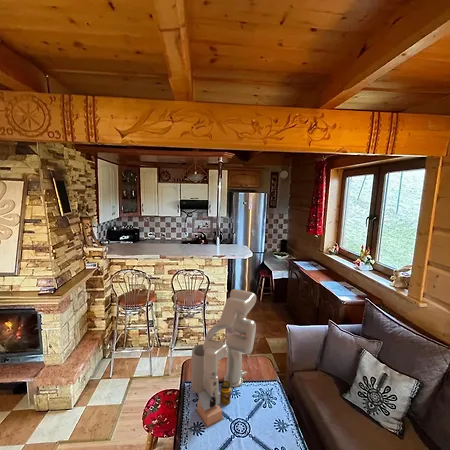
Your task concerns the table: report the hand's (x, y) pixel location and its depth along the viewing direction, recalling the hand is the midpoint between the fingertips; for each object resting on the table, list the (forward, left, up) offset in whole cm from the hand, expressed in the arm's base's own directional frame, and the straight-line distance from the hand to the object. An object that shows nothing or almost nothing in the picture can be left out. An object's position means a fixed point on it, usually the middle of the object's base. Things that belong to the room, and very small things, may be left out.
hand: (209, 401), depth 146 cm
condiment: (-12, -4, -9) cm, 16 cm away
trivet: (0, 0, -8) cm, 8 cm away
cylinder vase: (-6, -21, -9) cm, 24 cm away
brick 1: (0, 0, -1) cm, 1 cm away
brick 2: (0, 0, -8) cm, 8 cm away
